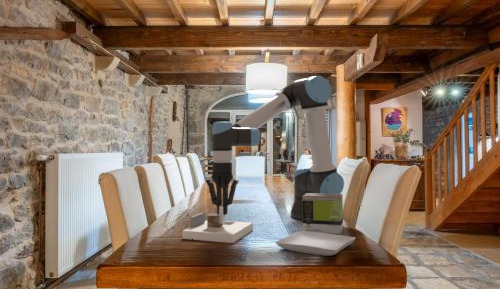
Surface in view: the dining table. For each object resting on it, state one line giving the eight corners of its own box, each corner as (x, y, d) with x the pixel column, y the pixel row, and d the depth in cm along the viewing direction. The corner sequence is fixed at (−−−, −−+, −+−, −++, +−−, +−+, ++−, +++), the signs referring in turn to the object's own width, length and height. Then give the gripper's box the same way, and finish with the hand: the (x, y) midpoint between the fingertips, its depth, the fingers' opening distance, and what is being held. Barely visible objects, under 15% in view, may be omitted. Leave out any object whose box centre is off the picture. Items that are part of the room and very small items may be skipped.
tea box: (343, 229, 166) (343, 193, 166) (340, 235, 157) (340, 196, 157) (306, 227, 171) (306, 192, 171) (301, 232, 162) (301, 195, 162)
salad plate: (300, 238, 152) (300, 229, 152) (356, 246, 141) (356, 236, 141) (274, 252, 134) (274, 241, 134) (336, 261, 123) (336, 250, 123)
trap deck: (252, 230, 165) (252, 212, 165) (233, 242, 144) (233, 223, 144) (207, 226, 171) (207, 210, 171) (182, 238, 151) (182, 219, 151)
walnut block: (222, 225, 160) (222, 214, 160) (218, 227, 155) (218, 216, 155) (212, 224, 161) (212, 213, 161) (207, 227, 157) (207, 215, 157)
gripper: (241, 161, 159) (241, 222, 159) (210, 161, 163) (210, 220, 163) (234, 162, 152) (234, 225, 152) (202, 162, 156) (202, 223, 156)
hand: (222, 222), depth 157 cm, fingers closed
